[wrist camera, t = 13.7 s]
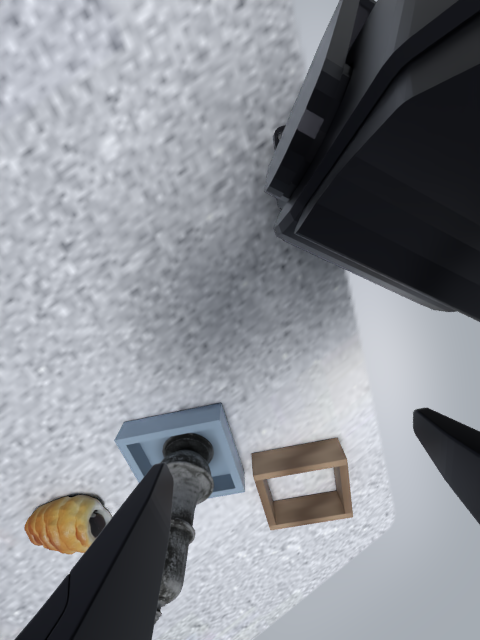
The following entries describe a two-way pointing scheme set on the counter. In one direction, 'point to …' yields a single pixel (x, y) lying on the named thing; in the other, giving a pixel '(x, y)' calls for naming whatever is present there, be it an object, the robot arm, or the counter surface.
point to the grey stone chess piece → (183, 505)
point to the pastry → (67, 524)
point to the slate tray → (151, 433)
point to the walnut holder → (300, 462)
